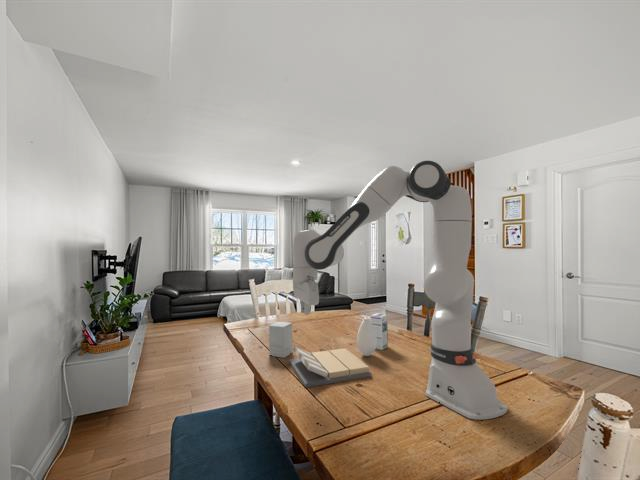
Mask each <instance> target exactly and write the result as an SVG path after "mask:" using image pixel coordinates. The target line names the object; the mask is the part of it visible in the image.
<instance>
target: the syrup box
mask: <svg viewBox="0 0 640 480" xmlns="http://www.w3.org/2000/svg"><path fill="white" fill-rule="evenodd" d="M369 318H370V321H371V323H372V324H373V326H374V329H375V332H376V340H377V341H376V348H375V350H380V351H383V350H384V349H386V348H387V347H389V337H388V336H389V335H388V334H389V333H388V331H389V330H388V314H385V313H379V312H377V313H374V314H371V315H370V316H369Z"/></svg>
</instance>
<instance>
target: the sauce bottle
mask: <svg viewBox="0 0 640 480" xmlns="http://www.w3.org/2000/svg"><path fill="white" fill-rule="evenodd" d="M356 338H357V339H356V341H357V342H356V343H357V348H358V350H359V352H360V353H361V354H362V355H363V356H365V357H370V356H372V354H374V352H375V350H376V349H375V348H376V341H377V340H376V332H375V329H374V326H373V324H372V323H371V321H370V317H368V312H367V311H366V313H365V317H363V320H362V322H361V323H360V325H359V327H358V331H357V336H356Z"/></svg>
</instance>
